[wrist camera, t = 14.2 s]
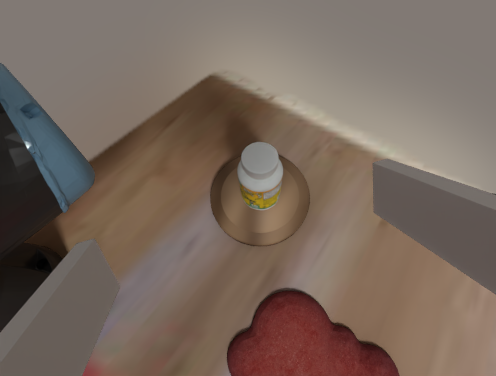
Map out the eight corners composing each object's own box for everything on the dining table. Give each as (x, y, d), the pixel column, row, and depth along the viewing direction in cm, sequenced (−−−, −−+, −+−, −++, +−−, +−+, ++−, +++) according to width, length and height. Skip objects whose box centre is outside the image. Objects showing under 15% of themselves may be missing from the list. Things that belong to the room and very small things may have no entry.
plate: (209, 247, 33) (207, 244, 32) (214, 158, 39) (213, 153, 38) (313, 245, 32) (315, 243, 31) (303, 155, 38) (304, 150, 37)
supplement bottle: (287, 198, 34) (296, 163, 25) (254, 218, 33) (252, 189, 24) (265, 170, 36) (266, 128, 27) (234, 188, 35) (225, 151, 26)
